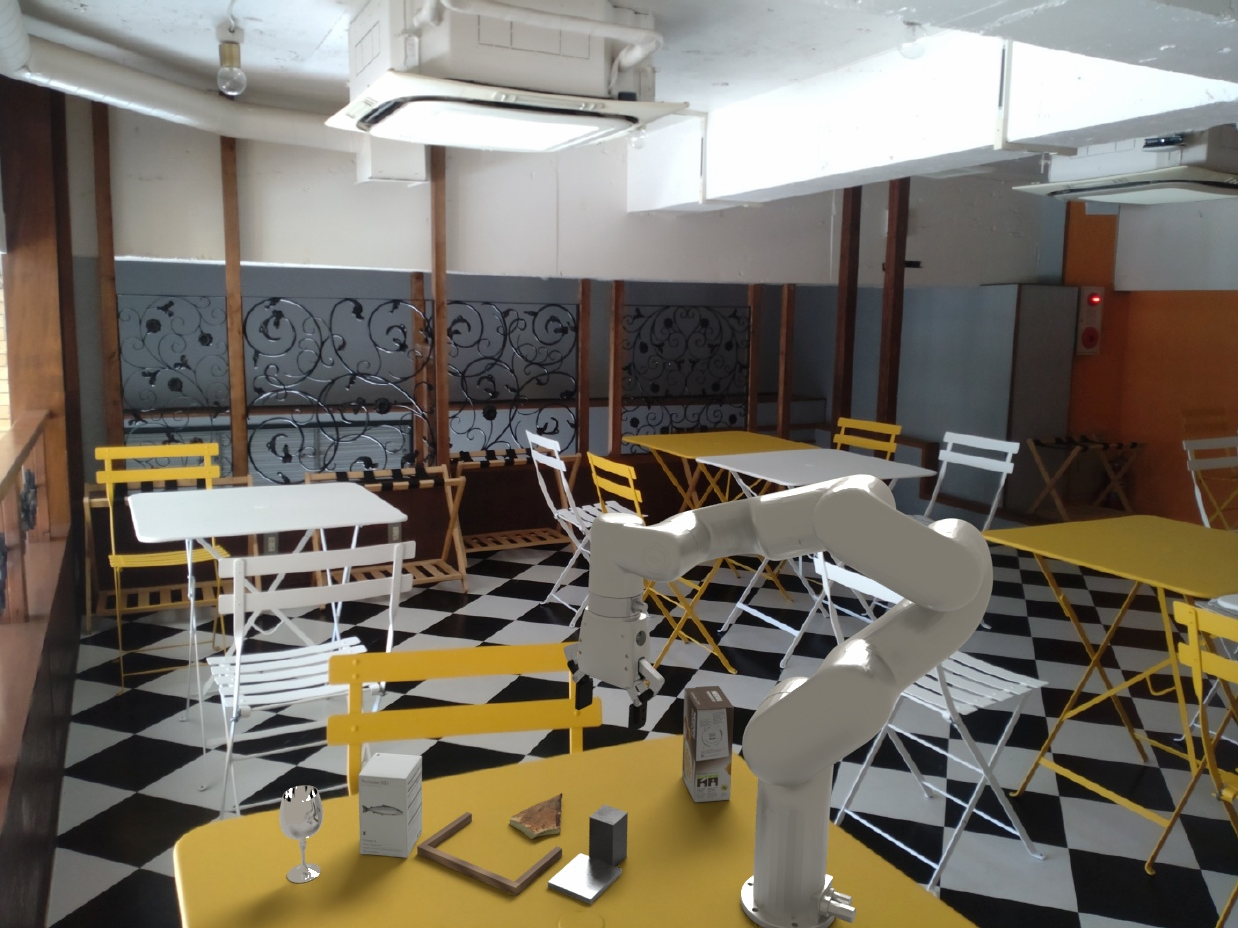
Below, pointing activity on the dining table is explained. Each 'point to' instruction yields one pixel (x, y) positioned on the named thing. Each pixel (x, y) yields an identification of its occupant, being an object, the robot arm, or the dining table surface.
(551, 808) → the shard
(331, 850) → the dining table surface
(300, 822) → the wineglass
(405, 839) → the supplement box
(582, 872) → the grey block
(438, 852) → the frame
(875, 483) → the robot arm
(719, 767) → the coffee box
